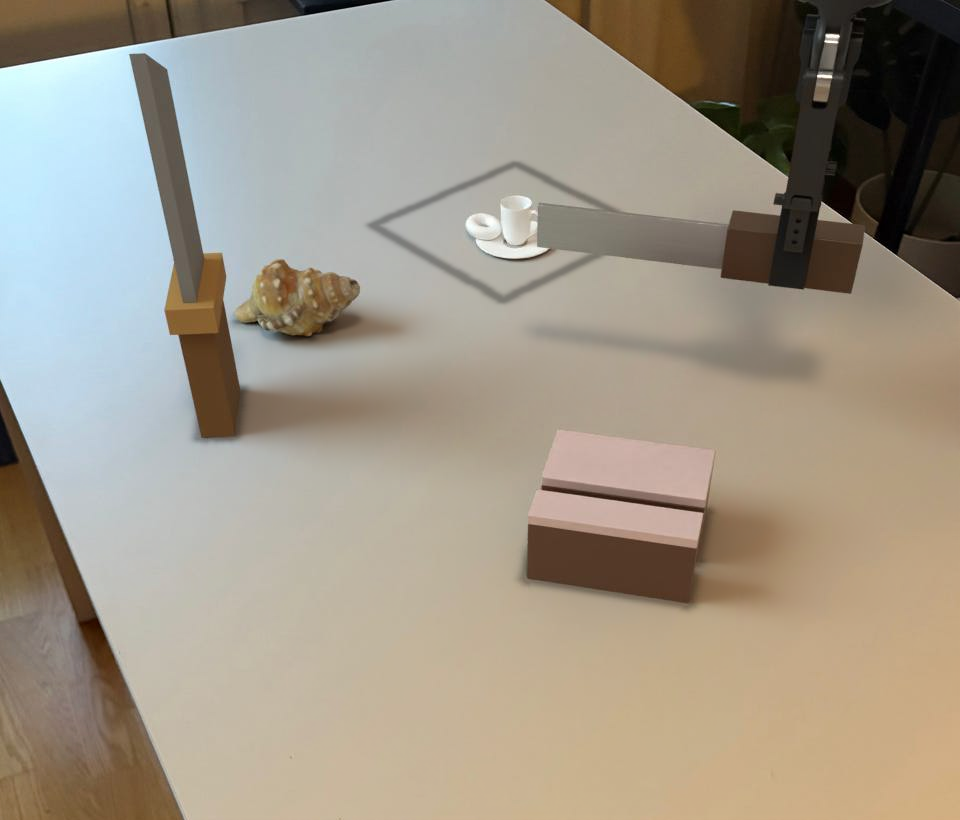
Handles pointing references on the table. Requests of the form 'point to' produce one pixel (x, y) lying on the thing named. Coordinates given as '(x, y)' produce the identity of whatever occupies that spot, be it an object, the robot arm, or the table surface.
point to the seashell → (296, 299)
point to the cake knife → (702, 242)
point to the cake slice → (612, 545)
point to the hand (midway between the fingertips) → (789, 272)
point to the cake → (630, 471)
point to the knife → (189, 263)
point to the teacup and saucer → (507, 229)
